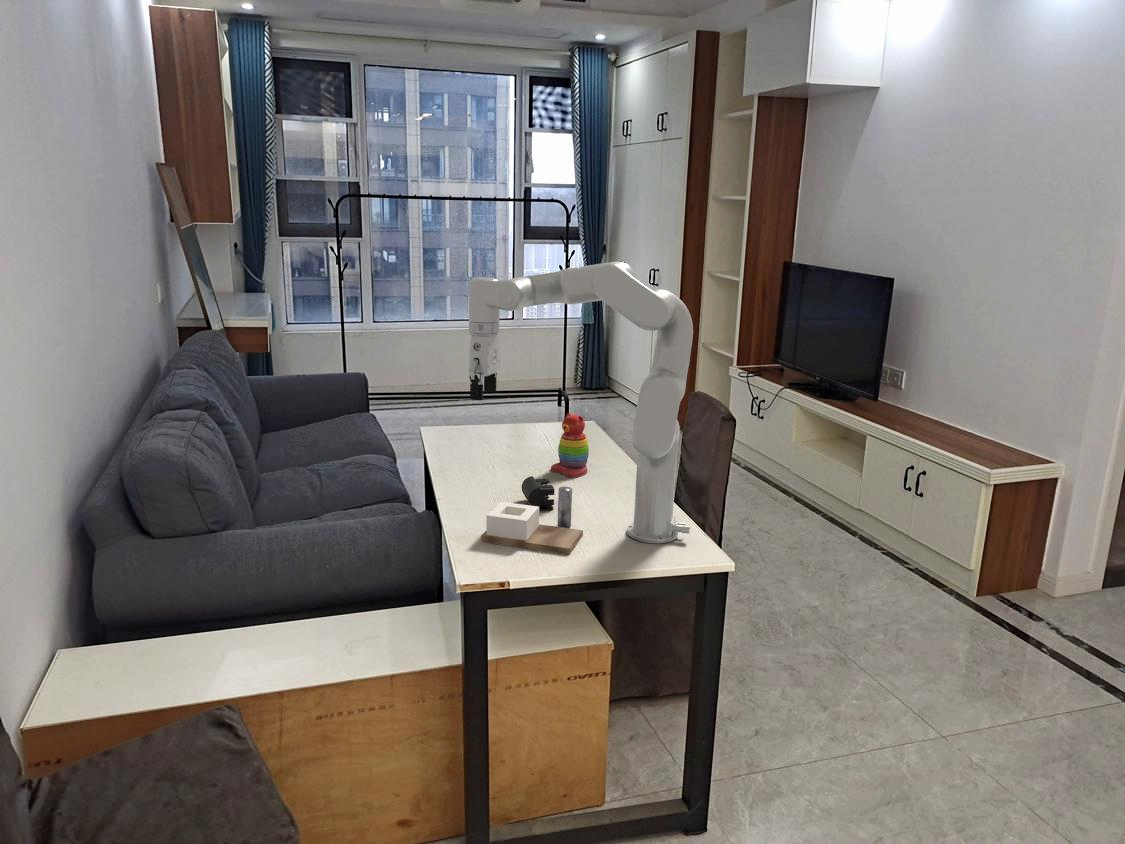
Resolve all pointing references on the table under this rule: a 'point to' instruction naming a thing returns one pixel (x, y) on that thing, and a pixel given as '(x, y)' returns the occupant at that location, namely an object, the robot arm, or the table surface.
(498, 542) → the board
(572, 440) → the stacking bear
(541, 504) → the end cap
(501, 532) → the socket
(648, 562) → the table surface
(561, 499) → the peg
